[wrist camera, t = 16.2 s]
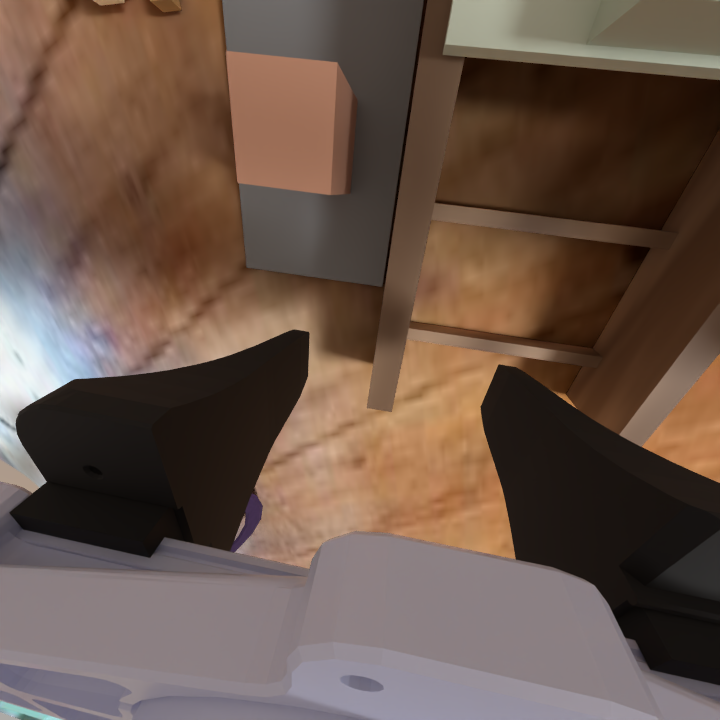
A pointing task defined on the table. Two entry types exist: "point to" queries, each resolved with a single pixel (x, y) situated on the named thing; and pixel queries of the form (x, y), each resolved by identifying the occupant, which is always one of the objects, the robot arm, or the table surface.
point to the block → (292, 123)
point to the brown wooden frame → (648, 287)
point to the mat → (372, 133)
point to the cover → (591, 34)
